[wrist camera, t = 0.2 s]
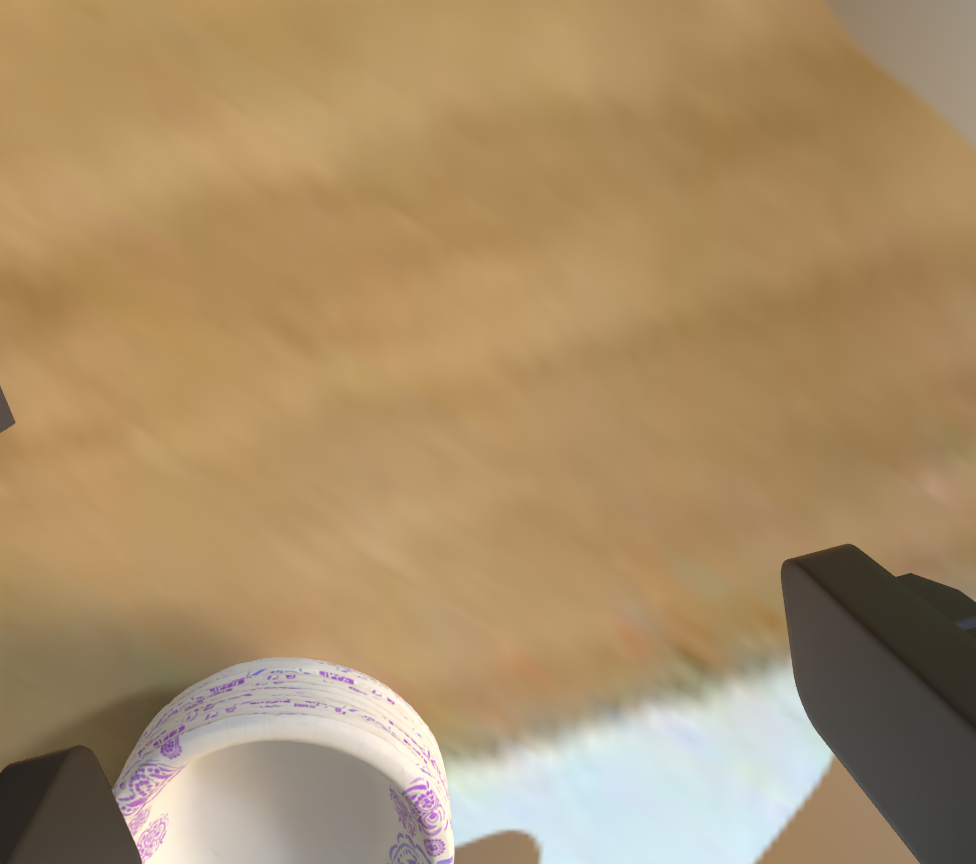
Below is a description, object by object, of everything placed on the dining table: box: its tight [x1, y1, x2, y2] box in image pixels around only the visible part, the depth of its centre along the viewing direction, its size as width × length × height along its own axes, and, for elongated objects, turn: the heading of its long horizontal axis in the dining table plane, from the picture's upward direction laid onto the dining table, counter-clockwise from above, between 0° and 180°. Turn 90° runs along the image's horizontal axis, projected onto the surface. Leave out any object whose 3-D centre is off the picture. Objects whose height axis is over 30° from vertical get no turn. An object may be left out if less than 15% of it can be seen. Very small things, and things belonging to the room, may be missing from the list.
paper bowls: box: [112, 658, 454, 864], centre depth 39 cm, size 15×15×8 cm
